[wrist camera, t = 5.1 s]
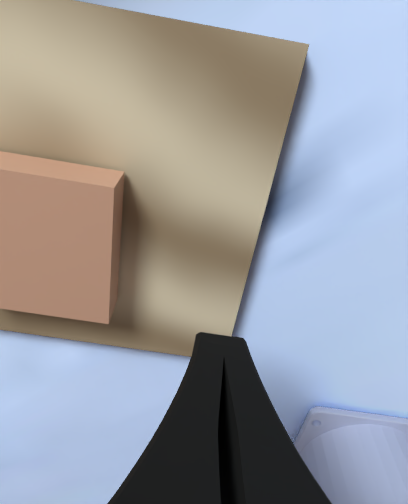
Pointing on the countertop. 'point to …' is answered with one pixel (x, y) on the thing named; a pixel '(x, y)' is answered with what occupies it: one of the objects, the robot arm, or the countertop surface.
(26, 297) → the tile
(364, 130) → the countertop surface
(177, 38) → the board
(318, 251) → the countertop surface
